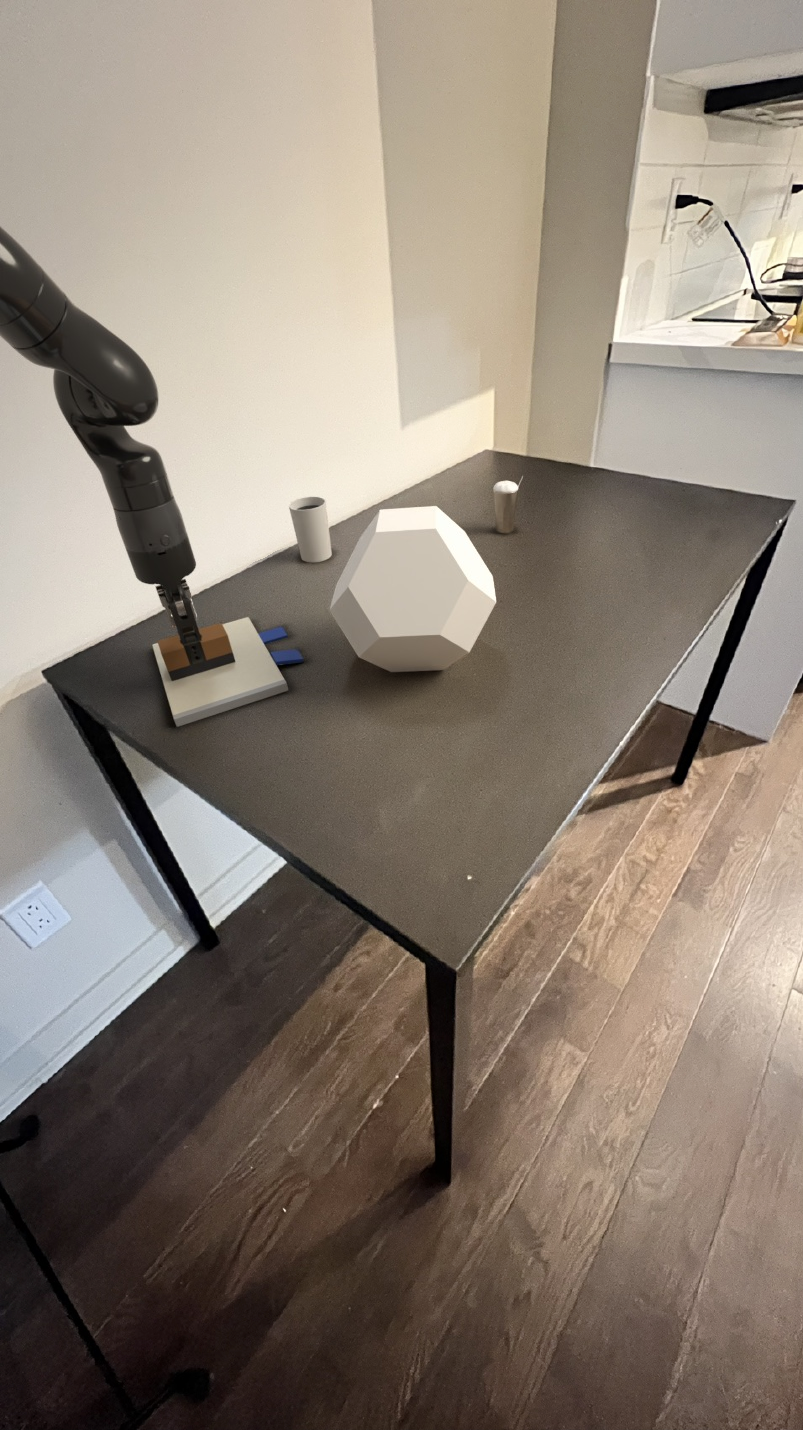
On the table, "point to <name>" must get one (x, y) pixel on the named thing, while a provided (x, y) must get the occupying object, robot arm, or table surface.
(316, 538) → the white cup
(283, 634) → the blue flat block
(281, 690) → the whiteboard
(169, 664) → the eraser
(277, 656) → the blue rectangular block
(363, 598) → the geometric form
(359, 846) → the table surface
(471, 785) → the table surface
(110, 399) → the robot arm
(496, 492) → the milkshake
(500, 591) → the table surface
